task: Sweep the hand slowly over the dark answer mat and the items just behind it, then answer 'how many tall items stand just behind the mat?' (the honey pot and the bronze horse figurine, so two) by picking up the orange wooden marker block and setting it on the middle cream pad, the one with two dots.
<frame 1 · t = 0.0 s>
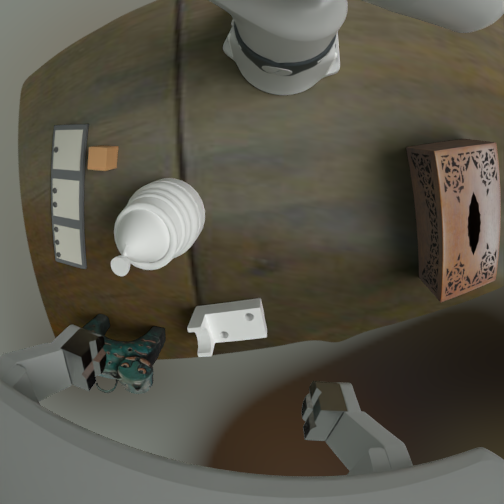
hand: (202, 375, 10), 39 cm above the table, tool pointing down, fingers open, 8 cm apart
answer mat: (67, 197, 48), on the table
marker block: (108, 156, 44), on the table
tissue box cover: (444, 208, 44), on the table
honey pot: (170, 213, 48), on the table
bracket: (232, 315, 56), on the table
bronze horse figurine: (132, 327, 59), on the table
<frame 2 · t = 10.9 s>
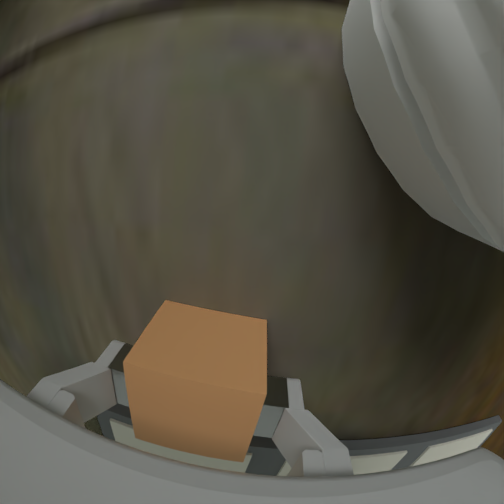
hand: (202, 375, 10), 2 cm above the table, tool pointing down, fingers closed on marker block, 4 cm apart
answer mat: (328, 473, 14), on the table
marker block: (209, 351, 11), on the table, touching gripper
honey pot: (473, 91, 8), on the table
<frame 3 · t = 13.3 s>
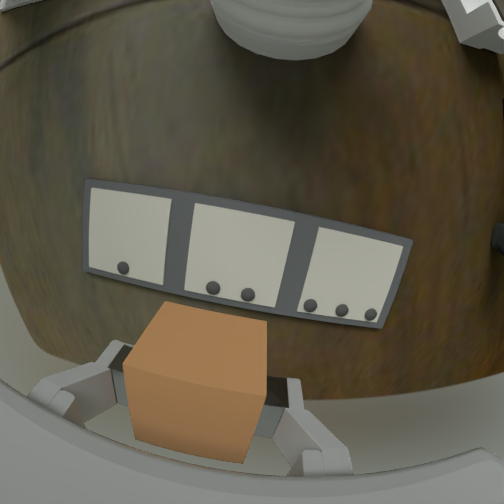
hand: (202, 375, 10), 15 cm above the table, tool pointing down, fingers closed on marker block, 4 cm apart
answer mat: (237, 254, 24), on the table
marker block: (209, 352, 11), point 13 cm above the table, touching gripper
honey pot: (286, 5, 17), on the table
bracket: (459, 5, 15), on the table
when the fingers open (4 cm above the table, at t = 16.1 s): marker block stays where it is, resting on answer mat.
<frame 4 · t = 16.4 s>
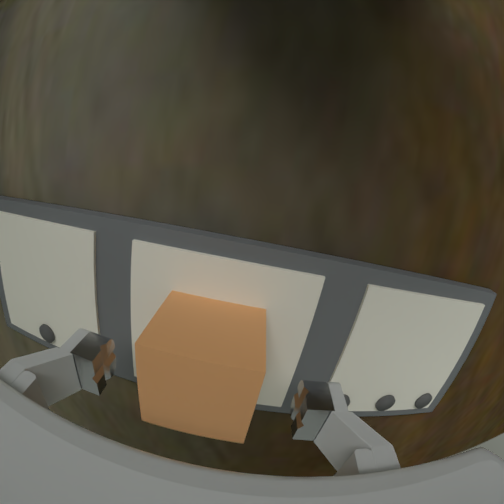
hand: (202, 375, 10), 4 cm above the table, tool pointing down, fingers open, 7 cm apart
answer mat: (216, 327, 13), on the table
marker block: (212, 338, 12), point 1 cm above the table, touching answer mat
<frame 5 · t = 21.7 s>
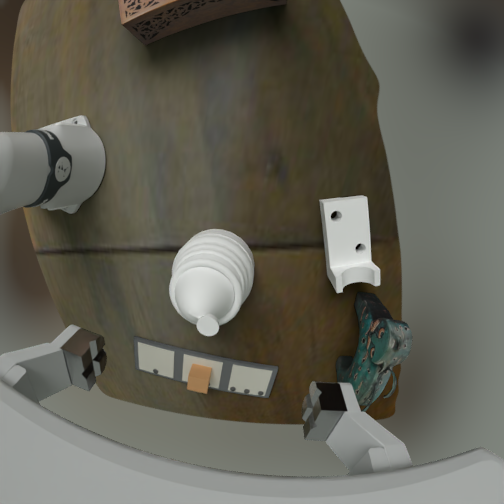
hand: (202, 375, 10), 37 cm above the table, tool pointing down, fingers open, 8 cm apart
answer mat: (202, 369, 55), on the table
marker block: (201, 372, 54), point 1 cm above the table, touching answer mat
honey pot: (216, 265, 48), on the table
bracket: (343, 235, 46), on the table
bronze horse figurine: (355, 329, 51), on the table
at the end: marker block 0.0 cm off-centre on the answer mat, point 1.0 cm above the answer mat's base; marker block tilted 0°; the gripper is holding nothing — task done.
